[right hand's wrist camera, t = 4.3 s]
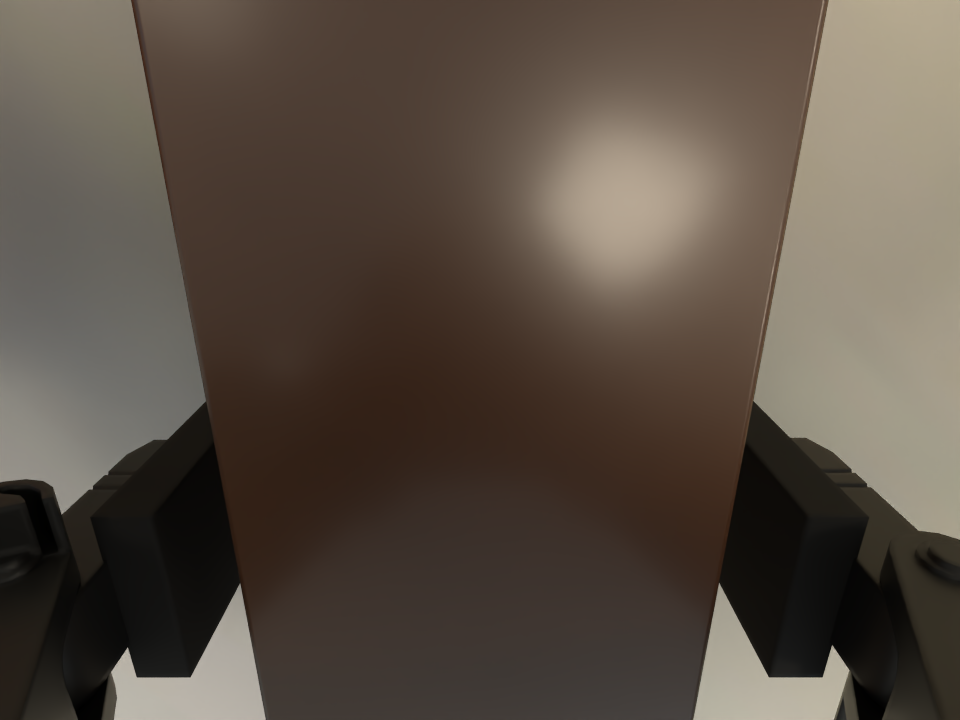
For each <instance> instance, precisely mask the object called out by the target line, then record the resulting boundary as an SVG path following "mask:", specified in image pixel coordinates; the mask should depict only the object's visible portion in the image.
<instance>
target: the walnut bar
mask: <svg viewBox="0 0 960 720" xmlns="http://www.w3.org/2000/svg"><path fill="white" fill-rule="evenodd" d="M131 2H132V7H133V12H134V18H135V23H136V28H137V34H138V39H139V44H140V50H141V55H142V60H143V66H144V71H145V76H146V82H147V87H148V92H149V98H150V103H151V108H152V114H153V119H154V124H155V130H156V135H157V140H158V146H159V151H160V156H161V162H162V167H163V172H164V178H165V183H166V189H167V194H168V199H169V205H170V210H171V215H172V221H173V226H174V231H175V237H176V242H177V247H178V253H179V258H180V263H181V269H182V274H183V279H184V285H185V290H186V295H187V301H188V306H189V311H190V317H191V322H192V327H193V333H194V338H195V343H196V349H197V354H198V359H199V365H200V370H201V375H202V381H203V386H204V391H205V397H206V402H207V407H208V413H209V418H210V423H211V429H212V434H213V439H214V445H215V450H216V455H217V461H218V466H219V471H220V477H221V482H222V487H223V493H224V498H225V503H226V509H227V514H228V519H229V525H230V530H231V535H232V541H233V546H234V552H235V557H236V562H237V568H238V573H239V578H240V584H241V589H242V594H243V600H244V605H245V610H246V616H247V621H248V626H249V632H250V637H251V642H252V648H253V653H254V658H255V664H256V669H257V674H258V680H259V685H260V690H261V696H262V701H263V706H264V712H265V717H266V720H693V718H694V713H695V707H696V702H697V697H698V691H699V686H700V681H701V676H702V670H703V665H704V660H705V654H706V649H707V644H708V638H709V633H710V628H711V622H712V617H713V612H714V606H715V601H716V596H717V590H718V585H719V580H720V574H721V569H722V564H723V559H724V553H725V548H726V543H727V537H728V532H729V527H730V521H731V516H732V511H733V505H734V500H735V495H736V489H737V484H738V479H739V473H740V468H741V463H742V458H743V452H744V447H745V442H746V436H747V431H748V426H749V420H750V415H751V410H752V404H753V399H754V394H755V388H756V383H757V378H758V372H759V367H760V362H761V356H762V351H763V346H764V341H765V335H766V330H767V325H768V319H769V314H770V309H771V303H772V298H773V293H774V287H775V282H776V277H777V271H778V266H779V261H780V255H781V250H782V245H783V240H784V234H785V229H786V224H787V218H788V213H789V208H790V202H791V197H792V192H793V186H794V181H795V176H796V170H797V165H798V160H799V154H800V149H801V144H802V139H803V133H804V128H805V123H806V117H807V112H808V107H809V101H810V96H811V91H812V85H813V80H814V75H815V69H816V64H817V59H818V53H819V48H820V43H821V37H822V32H823V27H824V22H825V16H826V11H827V6H828V0H131Z"/></svg>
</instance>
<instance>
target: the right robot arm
mask: <svg viewBox="0 0 960 720" xmlns="http://www.w3.org/2000/svg"><path fill="white" fill-rule="evenodd" d="M719 583H720V585H721V587H722V589H723V591H724V593H725V595H726V596H727V598H728V600H729V602H730V604H731V606H732V608H733V610H734V612H735V614H736V615H737V617H738V619H739V621H740V623H741V625H742V627H743V629H744V631H745V633H746V634H747V636H748V638H749V640H750V642H751V644H752V646H753V648H754V650H755V652H756V653H757V655H758V657H759V659H760V661H761V663H762V665H763V667H764V669H765V671H766V672H767V674H768V676H769V677H823V674H824V671H825V667H826V664H827V660H828V657H829V653H830V650H831V647H832V645H833V647H834V648H835V649H836V651H837V652H838V654H839V655H840V657H841V658H842V660H843V661H844V663H845V664H846V666H847V667H848V669H849V670H850V671H849V674H848V677H847V680H846V683H845V687H844V690H843V693H842V696H841V699H840V702H839V706H838V709H837V712H836V715H835V718H834V720H960V540H959V539H955V538H952V537H949V536H945V535H942V534H939V533H931V532H923V531H918V530H917V529H916V528H915V527H914V526H912V525H911V524H910V523H909V522H908V521H907V520H906V519H905V518H904V517H903V516H902V515H900V514H899V513H898V512H897V511H896V510H895V509H894V508H893V507H892V506H891V505H890V504H889V503H887V502H886V501H885V500H884V499H883V498H882V497H881V496H880V495H879V494H878V493H877V492H875V491H874V490H873V489H872V488H871V487H867V483H866V482H865V481H863V480H862V479H861V478H860V477H859V476H858V475H857V474H856V473H852V472H851V469H850V468H849V467H848V466H847V465H846V464H845V463H844V462H843V461H842V460H841V459H840V458H838V457H837V456H836V455H835V454H834V453H833V452H831V451H829V450H827V449H826V448H824V447H822V446H820V445H818V444H816V443H814V442H812V441H811V440H809V439H807V438H790V437H789V436H788V435H787V434H786V433H785V432H784V431H783V430H782V429H781V428H780V427H779V426H778V425H777V424H776V423H775V422H774V421H773V420H772V419H771V418H770V417H769V416H768V415H767V414H766V413H765V412H764V411H763V410H762V409H761V408H760V407H759V406H758V405H757V404H756V403H755V402H754V401H753V404H752V410H751V415H750V420H749V426H748V431H747V436H746V442H745V447H744V452H743V458H742V463H741V468H740V473H739V479H738V484H737V489H736V495H735V500H734V505H733V511H732V516H731V521H730V527H729V532H728V537H727V543H726V548H725V553H724V559H723V564H722V569H721V574H720V580H719ZM239 584H240V578H239V573H238V568H237V562H236V557H235V552H234V546H233V541H232V535H231V530H230V525H229V519H228V514H227V509H226V503H225V498H224V493H223V487H222V482H221V477H220V471H219V466H218V461H217V455H216V450H215V445H214V439H213V434H212V429H211V423H210V418H209V413H208V407H207V402H205V403H204V404H203V405H202V406H201V407H200V408H199V409H198V410H197V411H196V412H195V413H194V414H193V415H192V416H191V417H190V418H189V419H188V420H187V421H186V422H185V423H184V424H183V425H182V426H181V427H180V428H179V429H178V430H177V431H176V432H175V433H174V434H173V435H172V436H171V437H170V438H169V439H168V440H153V441H151V442H149V443H148V444H146V445H144V446H142V447H140V448H138V449H136V450H135V451H133V452H131V453H129V454H127V455H126V456H125V457H124V458H123V459H122V460H121V461H120V462H118V463H117V464H116V465H115V466H114V467H113V468H112V469H111V470H110V471H109V474H108V475H104V476H103V477H102V478H101V479H100V480H99V481H98V482H97V483H96V484H95V485H94V486H93V490H88V491H87V492H86V493H85V494H84V495H83V496H82V497H81V498H80V499H78V500H77V501H76V502H75V503H74V504H73V505H72V506H71V507H70V508H69V509H68V510H67V511H66V512H64V513H63V514H62V515H61V511H60V508H59V505H58V502H57V499H56V495H55V492H54V489H53V487H52V486H50V485H49V484H47V483H45V482H44V481H37V480H28V479H24V480H15V481H6V482H1V483H0V720H114V714H115V707H116V700H117V695H116V688H115V683H114V680H113V677H112V674H111V671H112V670H113V668H114V667H115V665H116V664H117V662H118V661H119V659H120V658H121V656H122V655H123V653H124V652H125V650H126V649H127V647H128V649H129V652H130V656H131V659H132V662H133V666H134V669H135V673H136V676H137V677H191V675H192V673H193V671H194V670H195V668H196V666H197V664H198V662H199V660H200V658H201V656H202V654H203V653H204V651H205V649H206V647H207V645H208V643H209V641H210V639H211V637H212V635H213V634H214V632H215V630H216V628H217V626H218V624H219V622H220V620H221V618H222V616H223V615H224V613H225V611H226V609H227V607H228V605H229V603H230V601H231V599H232V597H233V596H234V594H235V592H236V590H237V588H238V586H239Z"/></svg>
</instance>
